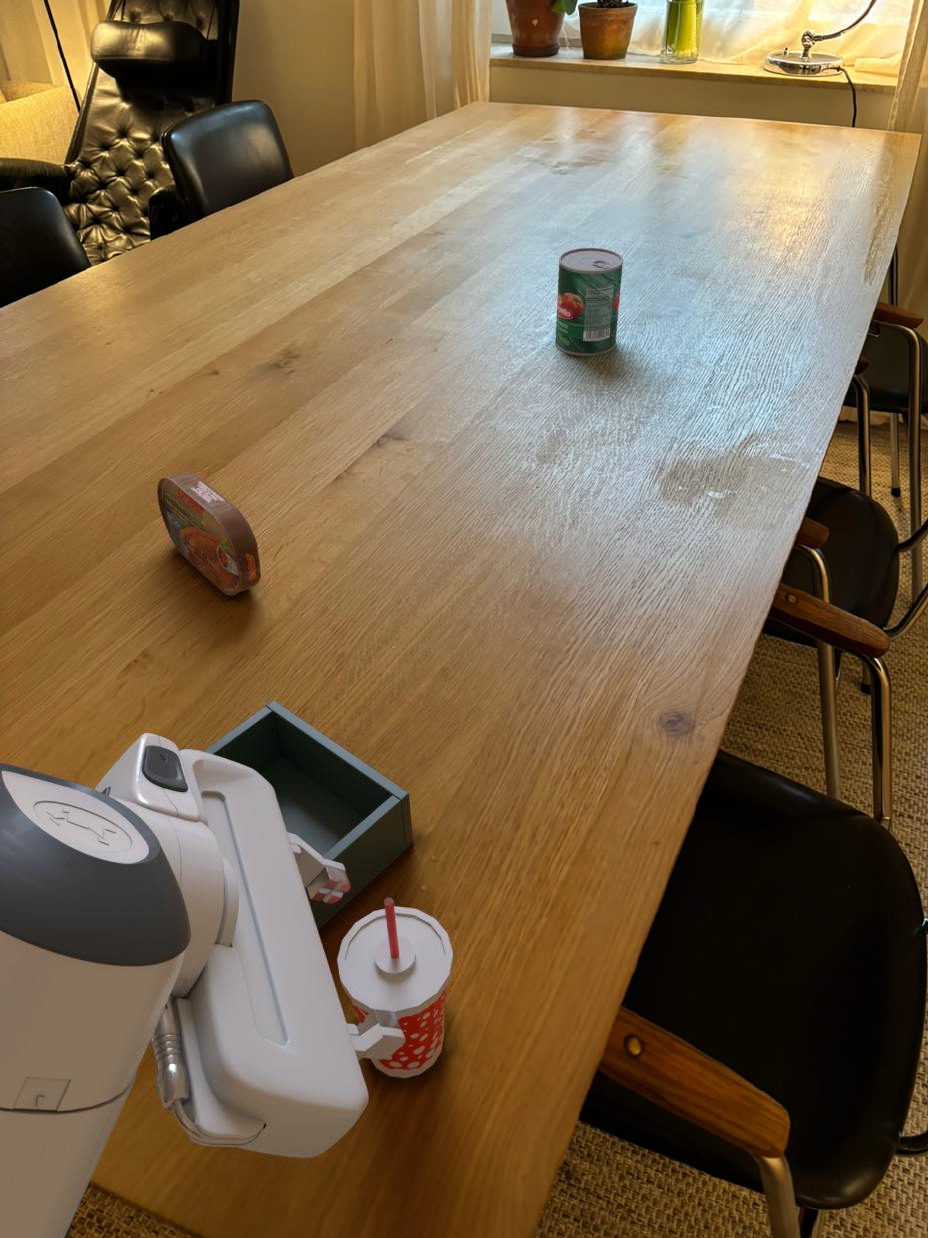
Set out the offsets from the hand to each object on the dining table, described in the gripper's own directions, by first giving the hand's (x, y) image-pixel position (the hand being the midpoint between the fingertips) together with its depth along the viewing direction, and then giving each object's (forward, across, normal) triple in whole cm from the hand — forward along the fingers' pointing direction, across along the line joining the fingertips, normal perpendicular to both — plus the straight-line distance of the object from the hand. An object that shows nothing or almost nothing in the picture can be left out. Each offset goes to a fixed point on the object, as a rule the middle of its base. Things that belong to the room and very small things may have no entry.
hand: (365, 955), depth 52 cm
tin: (+6, +49, +7) cm, 50 cm away
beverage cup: (+8, -1, +6) cm, 9 cm away
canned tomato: (+44, +79, -31) cm, 96 cm away
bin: (+5, +15, +8) cm, 18 cm away
